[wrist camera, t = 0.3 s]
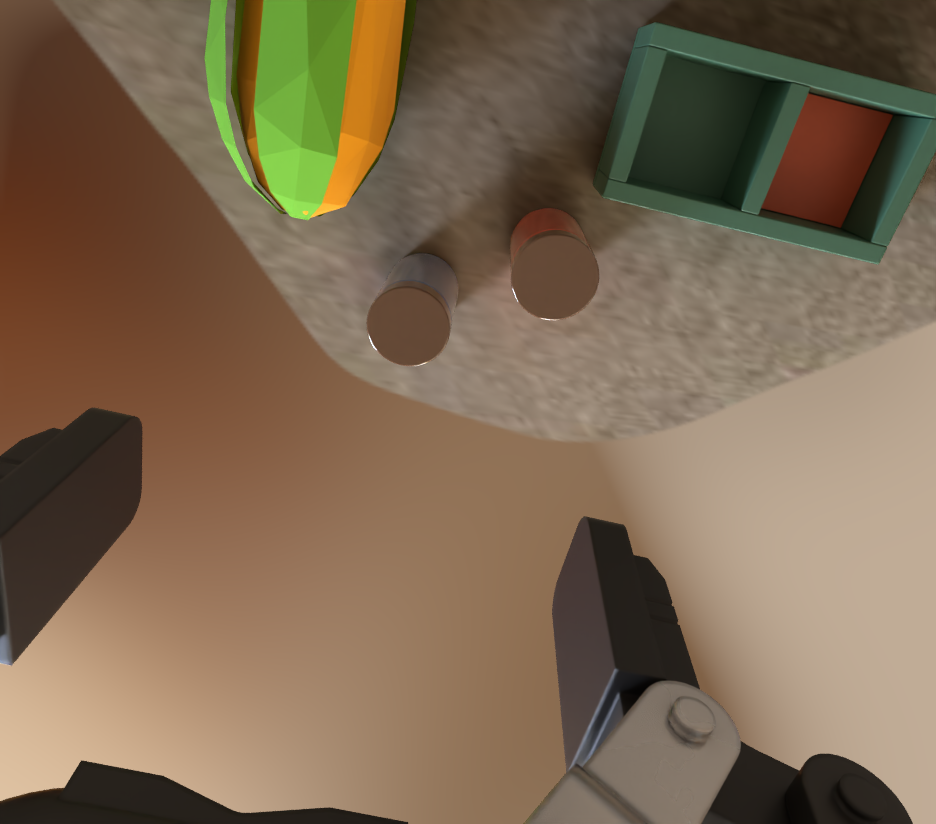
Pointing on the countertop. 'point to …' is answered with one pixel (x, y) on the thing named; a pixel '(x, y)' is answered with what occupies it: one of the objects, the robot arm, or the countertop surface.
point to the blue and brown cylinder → (414, 310)
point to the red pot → (552, 265)
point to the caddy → (765, 143)
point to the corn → (310, 92)
